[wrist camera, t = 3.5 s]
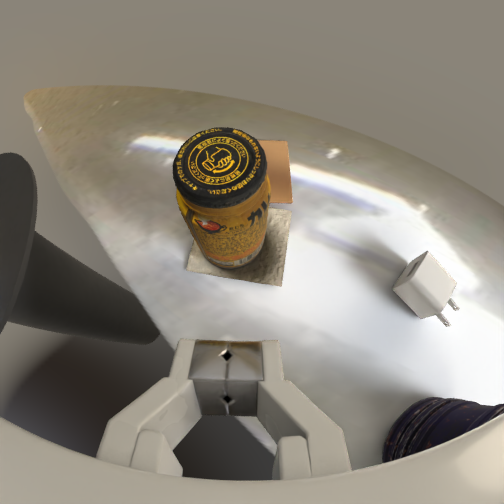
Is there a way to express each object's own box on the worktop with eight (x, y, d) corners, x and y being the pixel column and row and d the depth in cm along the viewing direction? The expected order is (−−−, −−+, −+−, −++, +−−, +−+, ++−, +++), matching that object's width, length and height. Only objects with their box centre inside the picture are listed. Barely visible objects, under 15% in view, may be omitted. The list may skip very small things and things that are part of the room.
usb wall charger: (409, 262, 25) (430, 248, 22) (449, 306, 24) (473, 298, 20) (389, 290, 24) (410, 280, 21) (432, 335, 23) (457, 331, 19)
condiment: (204, 198, 27) (179, 111, 16) (291, 212, 27) (316, 126, 15) (186, 271, 25) (138, 214, 13) (281, 287, 25) (308, 241, 13)
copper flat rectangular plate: (292, 203, 27) (292, 201, 27) (190, 203, 27) (189, 201, 27) (286, 142, 30) (287, 141, 30) (197, 142, 30) (197, 141, 30)
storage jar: (456, 382, 21) (568, 378, 7) (456, 458, 18) (549, 483, 4) (378, 415, 20) (494, 454, 6) (381, 495, 17) (464, 562, 3)
